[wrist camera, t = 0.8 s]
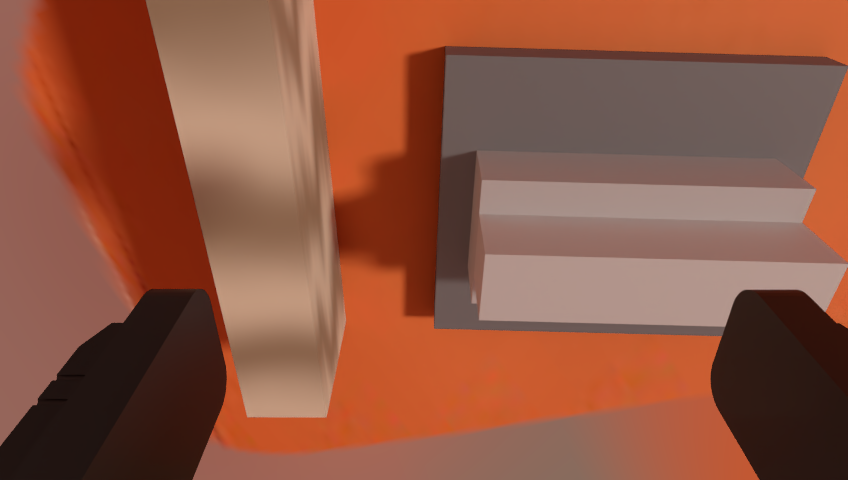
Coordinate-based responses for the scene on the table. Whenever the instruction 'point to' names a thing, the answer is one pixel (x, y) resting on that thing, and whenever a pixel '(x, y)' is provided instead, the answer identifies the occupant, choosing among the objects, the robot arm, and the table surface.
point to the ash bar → (260, 188)
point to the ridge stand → (626, 188)
